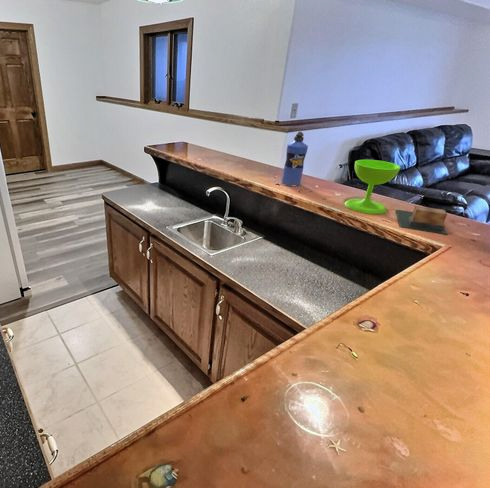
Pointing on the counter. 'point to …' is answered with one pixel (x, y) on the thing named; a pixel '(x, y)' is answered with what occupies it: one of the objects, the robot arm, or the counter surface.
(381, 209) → the wineglass
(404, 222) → the chalkboard
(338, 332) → the counter surface
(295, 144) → the water bottle
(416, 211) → the eraser
